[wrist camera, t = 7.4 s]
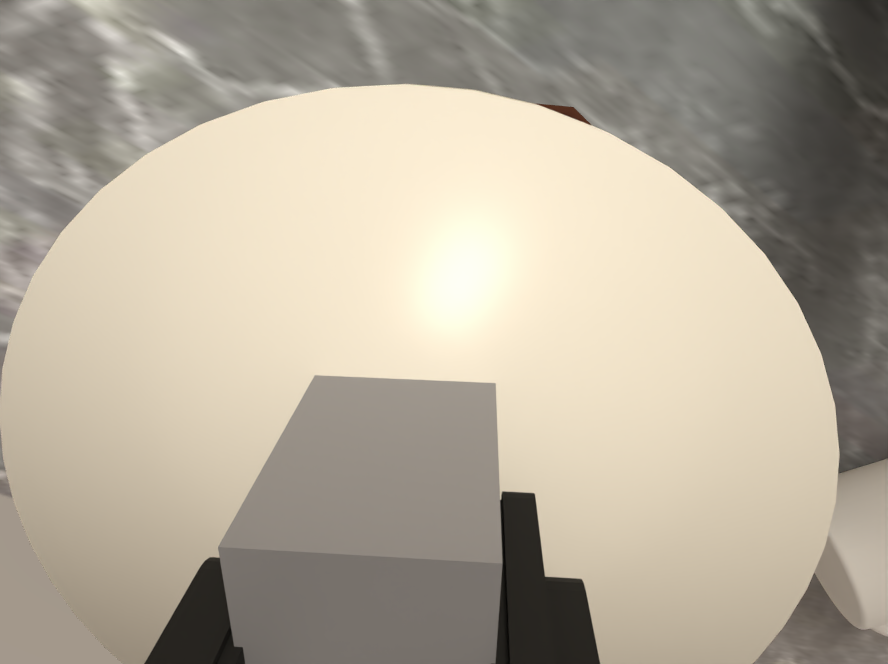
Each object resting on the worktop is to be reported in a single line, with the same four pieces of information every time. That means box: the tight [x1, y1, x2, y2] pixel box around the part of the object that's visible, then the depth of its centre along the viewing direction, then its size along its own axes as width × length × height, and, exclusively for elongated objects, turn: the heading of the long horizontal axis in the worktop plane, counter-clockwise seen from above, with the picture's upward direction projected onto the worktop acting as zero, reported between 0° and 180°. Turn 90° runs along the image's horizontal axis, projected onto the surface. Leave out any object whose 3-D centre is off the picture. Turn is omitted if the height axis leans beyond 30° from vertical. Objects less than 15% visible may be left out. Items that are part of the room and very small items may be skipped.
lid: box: [0, 84, 839, 664], centre depth 10 cm, size 15×15×5 cm
